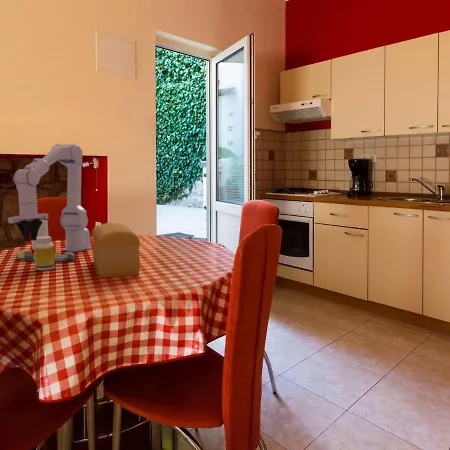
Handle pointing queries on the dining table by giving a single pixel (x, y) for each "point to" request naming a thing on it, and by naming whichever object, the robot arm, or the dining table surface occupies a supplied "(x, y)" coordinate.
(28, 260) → the plate
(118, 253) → the bread
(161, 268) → the dining table surface
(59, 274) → the dining table surface
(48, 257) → the pill bottle
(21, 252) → the block
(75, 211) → the robot arm
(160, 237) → the dining table surface
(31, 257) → the tong arm
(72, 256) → the dark-tipped long bar
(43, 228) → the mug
